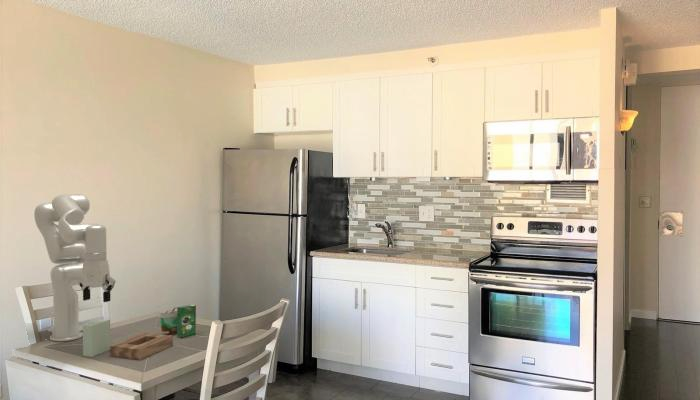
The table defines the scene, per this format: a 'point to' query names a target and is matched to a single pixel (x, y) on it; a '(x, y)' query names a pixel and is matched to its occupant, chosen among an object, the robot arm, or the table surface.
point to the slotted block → (141, 346)
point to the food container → (169, 322)
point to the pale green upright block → (96, 337)
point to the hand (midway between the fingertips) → (96, 300)
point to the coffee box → (186, 320)
